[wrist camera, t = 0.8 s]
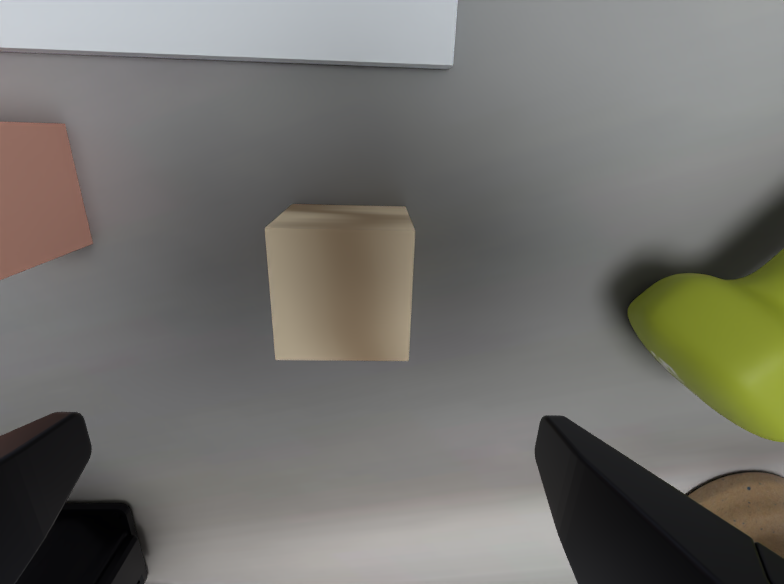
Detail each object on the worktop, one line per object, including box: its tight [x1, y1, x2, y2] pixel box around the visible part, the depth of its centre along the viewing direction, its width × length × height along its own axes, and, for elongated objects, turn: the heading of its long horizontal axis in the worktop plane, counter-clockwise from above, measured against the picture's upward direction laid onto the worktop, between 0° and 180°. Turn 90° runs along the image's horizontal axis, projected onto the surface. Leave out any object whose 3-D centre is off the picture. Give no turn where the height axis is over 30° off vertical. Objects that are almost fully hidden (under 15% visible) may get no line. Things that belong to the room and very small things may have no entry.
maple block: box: [265, 204, 415, 361], centre depth 17 cm, size 5×5×5 cm
